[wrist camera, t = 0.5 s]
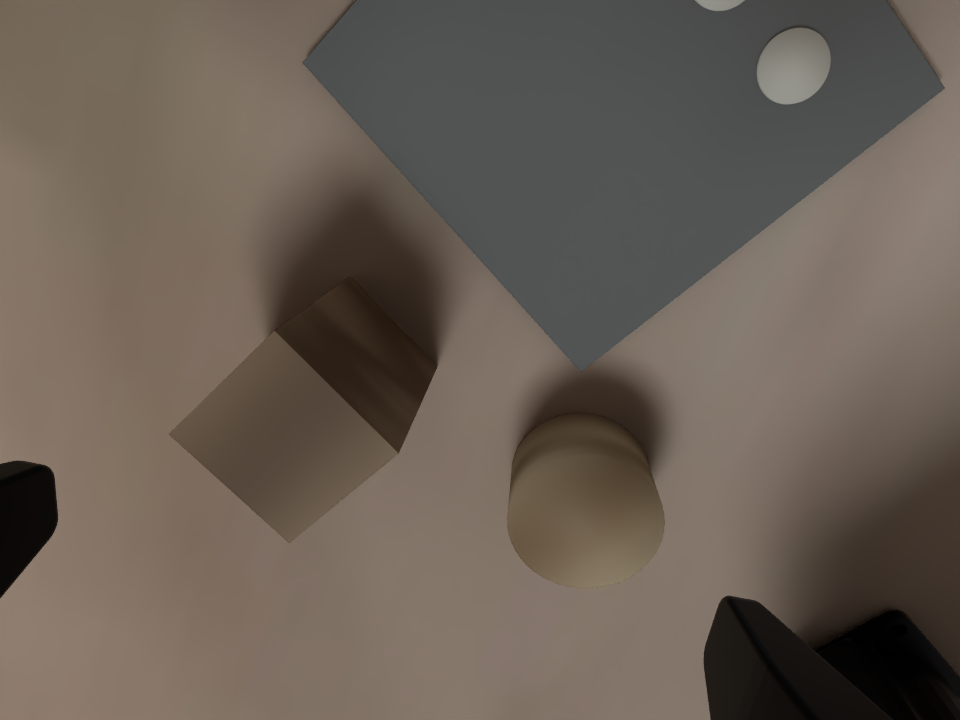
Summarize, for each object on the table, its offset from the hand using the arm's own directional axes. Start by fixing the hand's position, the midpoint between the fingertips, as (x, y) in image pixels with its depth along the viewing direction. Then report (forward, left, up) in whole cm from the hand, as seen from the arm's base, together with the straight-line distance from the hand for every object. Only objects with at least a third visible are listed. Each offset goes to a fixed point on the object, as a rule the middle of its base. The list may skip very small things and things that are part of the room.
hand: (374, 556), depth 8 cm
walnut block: (+1, +4, -12) cm, 13 cm away
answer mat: (+2, -7, -12) cm, 14 cm away
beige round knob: (-7, +1, -12) cm, 14 cm away
